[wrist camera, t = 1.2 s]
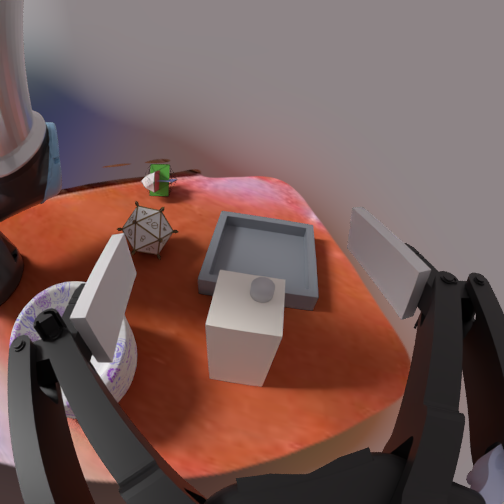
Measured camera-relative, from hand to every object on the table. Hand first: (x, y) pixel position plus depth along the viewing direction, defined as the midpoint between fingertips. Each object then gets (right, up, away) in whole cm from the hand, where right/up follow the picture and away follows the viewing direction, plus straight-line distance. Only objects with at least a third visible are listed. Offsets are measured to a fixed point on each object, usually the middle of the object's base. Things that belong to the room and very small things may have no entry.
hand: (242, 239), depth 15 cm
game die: (-16, 0, +28) cm, 32 cm away
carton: (-1, -14, +16) cm, 21 cm away
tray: (+2, -2, +28) cm, 28 cm away
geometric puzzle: (-19, +12, +41) cm, 46 cm away
